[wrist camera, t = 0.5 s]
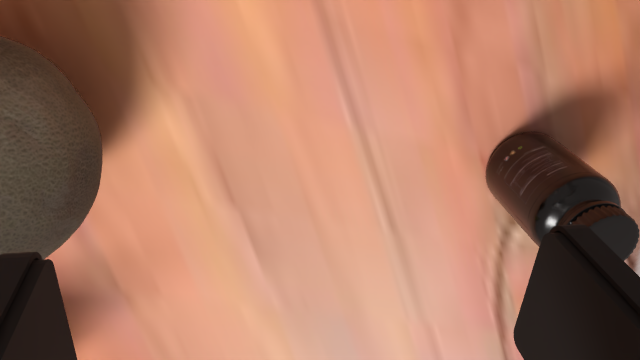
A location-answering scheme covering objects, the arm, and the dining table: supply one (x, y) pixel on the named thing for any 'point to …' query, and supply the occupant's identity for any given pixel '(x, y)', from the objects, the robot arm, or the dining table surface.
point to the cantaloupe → (43, 153)
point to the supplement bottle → (557, 191)
